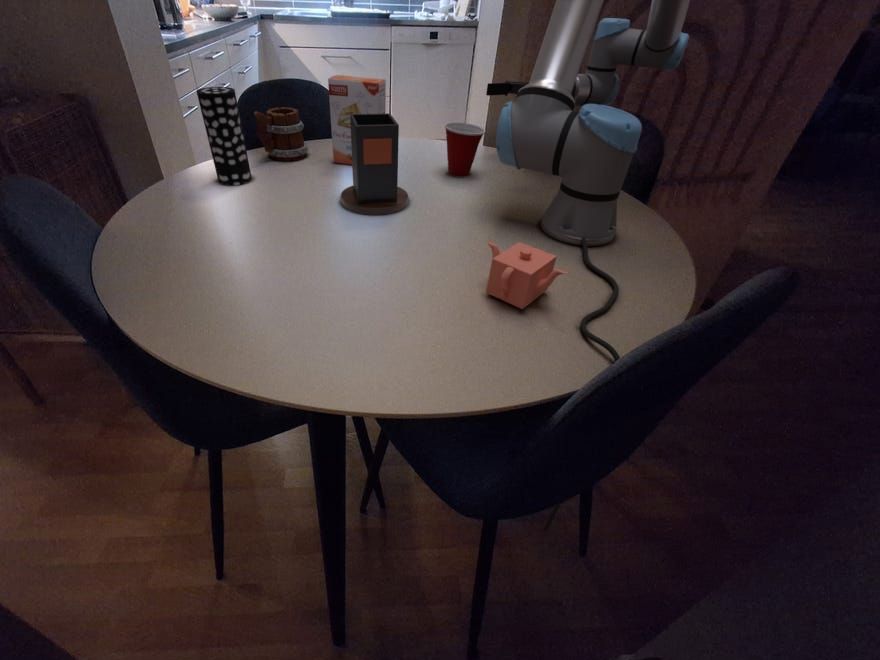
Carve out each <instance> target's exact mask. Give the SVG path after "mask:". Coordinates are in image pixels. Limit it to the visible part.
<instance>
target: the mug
mask: <svg viewBox="0 0 880 660" xmlns="http://www.w3.org/2000/svg"><path fill="white" fill-rule="evenodd" d="M253 115H254V117H256V120H257V122H256V132H257V135H258V138H259V139H260V142H261V144H262V145H263V149H264V151H265V152H266V153H268V154H269V156H270V158H271V159H272V160H275V161H279V162H291V161H292V162H295V161H299V160H303V159H304V158H306V156H307V153H308V150H309V147H308V145H307V143H306V142H305V141H304V140H305V139H304V135H303V129H304V127H305V124H304V122H303V121H302V120H301V119H300V112H299V110H298V109H297V108H294V107H287V106H286V107H284V106H282V107H273V108H269V109H268V110H267V111H266V115H265V114H264V113H261V112H259V111H257V110H255V111H254V112H253ZM267 132H268V133H267Z"/></svg>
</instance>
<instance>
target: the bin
mask: <svg viewBox="0 0 880 660" xmlns="http://www.w3.org/2000/svg"><path fill="white" fill-rule="evenodd" d="M350 124H351V147H352V165H351V167H352V186H353V188H354V191H355V194H356V197H357V200H358V203H375V202H394V201H397V187H398V183H399V181H398V179H399V178H398V176H399V136H400V125H399V123H398V122H397V120H396V119H395V118H394V116H393V115H392V114H391V113H385V114H350Z"/></svg>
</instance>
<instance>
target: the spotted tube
mask: <svg viewBox="0 0 880 660" xmlns="http://www.w3.org/2000/svg"><path fill="white" fill-rule="evenodd" d="M195 92H196V97H197V100H198V103H199V107H200V113H201V116H202V120H203V123H204V129H205V132H206V136H207V141H208V144H209V148H210V152H211V157H212V161H213V165H214V168H215V172H216V177H217V181H218V184H221V185H224V186H241V185H245V184H247V183H249V182H251V181H252V179H253V177H252V173H251V166H250V161H249V157H248V151H247V147H246V141H245V136H244V130H243V125H242V121H241V116H240V111H239V105H238V99H237V94H236V89H235V88H233V87H229V86H208V87H201V88H198V89H197V90H196V91H195Z"/></svg>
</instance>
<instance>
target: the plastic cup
mask: <svg viewBox="0 0 880 660" xmlns="http://www.w3.org/2000/svg"><path fill="white" fill-rule="evenodd" d="M444 128H445V136H446V137H445V139H446V152H447V153H446V157H447V168H448V170H447V171H448V174H449V175H450V176H452V177H457V178H465V177H468V176H469V175H470V174H471V170H472V167H473V163H474V162H475V161H474V160H475V158H476V154H477V151H478V148H479V145H480V142H481V140H482V139H483V136H484V135H485V133H486V129H485V128H484V127H482V126H479V125H477V124H472V123H468V122H461V121H460V122H459V121H450V122H446V123H445V124H444Z"/></svg>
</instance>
